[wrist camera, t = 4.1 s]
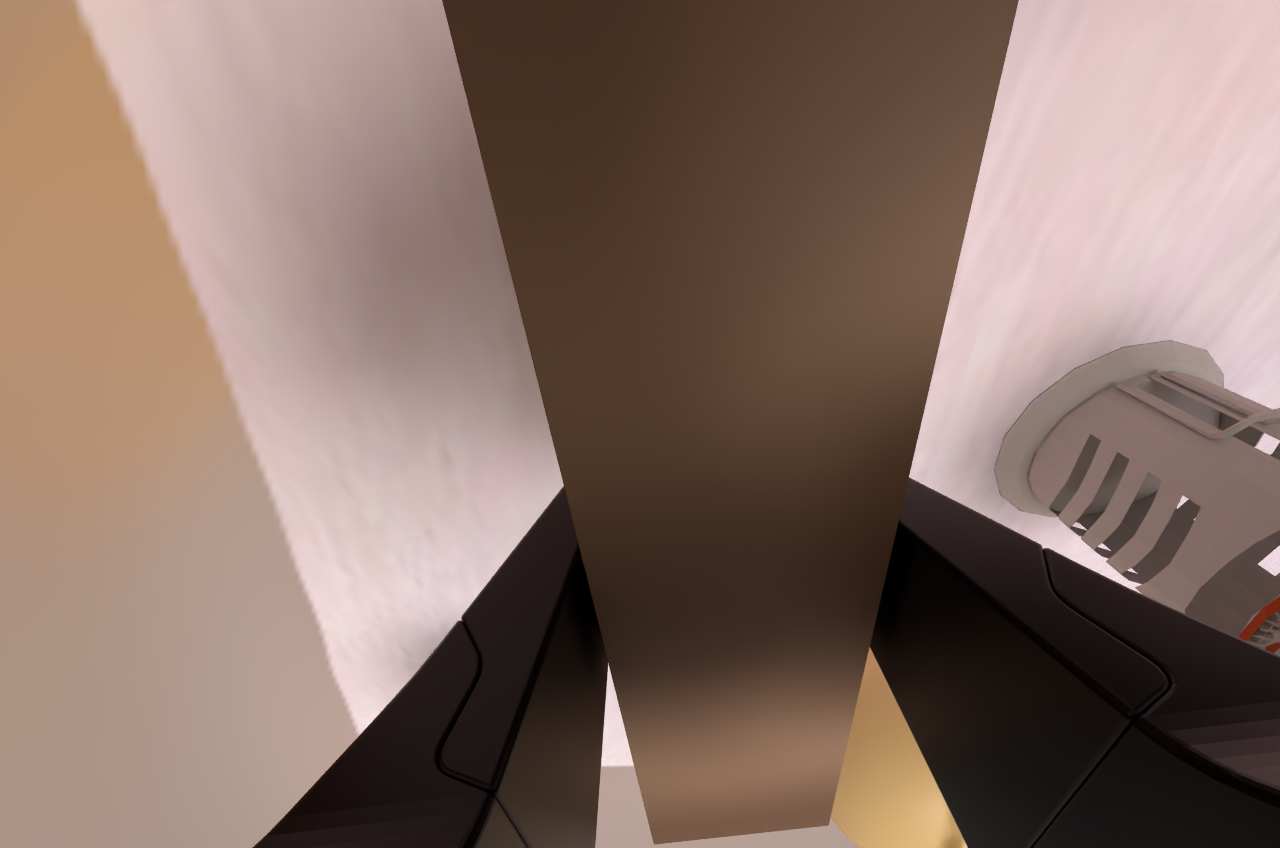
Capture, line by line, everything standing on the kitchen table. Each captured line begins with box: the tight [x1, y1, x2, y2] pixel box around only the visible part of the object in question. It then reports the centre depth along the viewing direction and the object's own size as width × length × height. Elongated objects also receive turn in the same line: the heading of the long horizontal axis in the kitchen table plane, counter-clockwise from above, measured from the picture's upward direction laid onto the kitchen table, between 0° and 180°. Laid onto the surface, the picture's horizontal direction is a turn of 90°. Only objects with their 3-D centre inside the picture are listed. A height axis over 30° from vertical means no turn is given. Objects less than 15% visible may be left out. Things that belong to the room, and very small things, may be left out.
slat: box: [442, 0, 1018, 844], centre depth 8 cm, size 14×4×4 cm, turn 6°
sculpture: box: [831, 647, 968, 848], centre depth 27 cm, size 11×12×11 cm
